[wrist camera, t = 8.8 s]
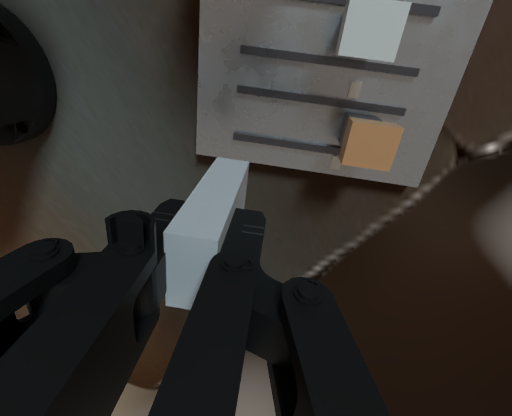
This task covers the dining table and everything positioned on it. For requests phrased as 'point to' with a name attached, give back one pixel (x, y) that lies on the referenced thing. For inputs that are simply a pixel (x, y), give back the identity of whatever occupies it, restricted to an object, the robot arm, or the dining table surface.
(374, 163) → the fader
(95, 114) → the dining table surface
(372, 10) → the fader
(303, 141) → the console
